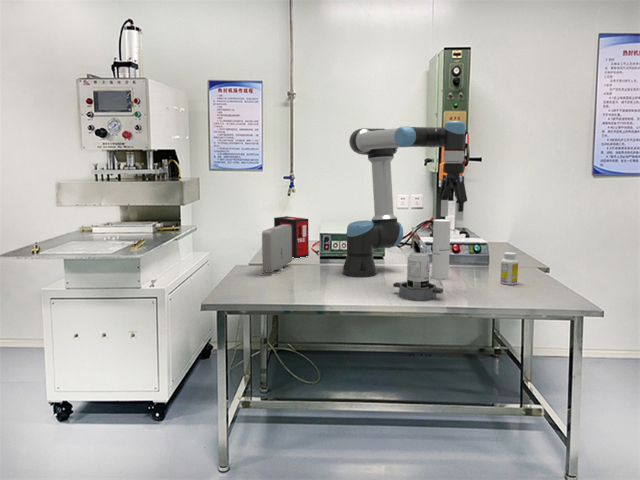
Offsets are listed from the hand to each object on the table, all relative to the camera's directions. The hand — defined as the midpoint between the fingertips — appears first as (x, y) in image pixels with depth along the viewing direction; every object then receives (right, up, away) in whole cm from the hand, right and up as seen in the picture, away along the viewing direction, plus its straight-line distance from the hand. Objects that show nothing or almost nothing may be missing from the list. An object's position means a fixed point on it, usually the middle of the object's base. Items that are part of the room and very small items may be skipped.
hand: (451, 218), depth 212 cm
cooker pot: (-14, -30, -3) cm, 33 cm away
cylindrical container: (+2, -25, +28) cm, 38 cm away
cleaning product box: (-66, -17, +78) cm, 103 cm away
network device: (-70, -23, +43) cm, 85 cm away
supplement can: (-14, -29, -3) cm, 32 cm away
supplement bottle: (+28, -27, +17) cm, 42 cm away
